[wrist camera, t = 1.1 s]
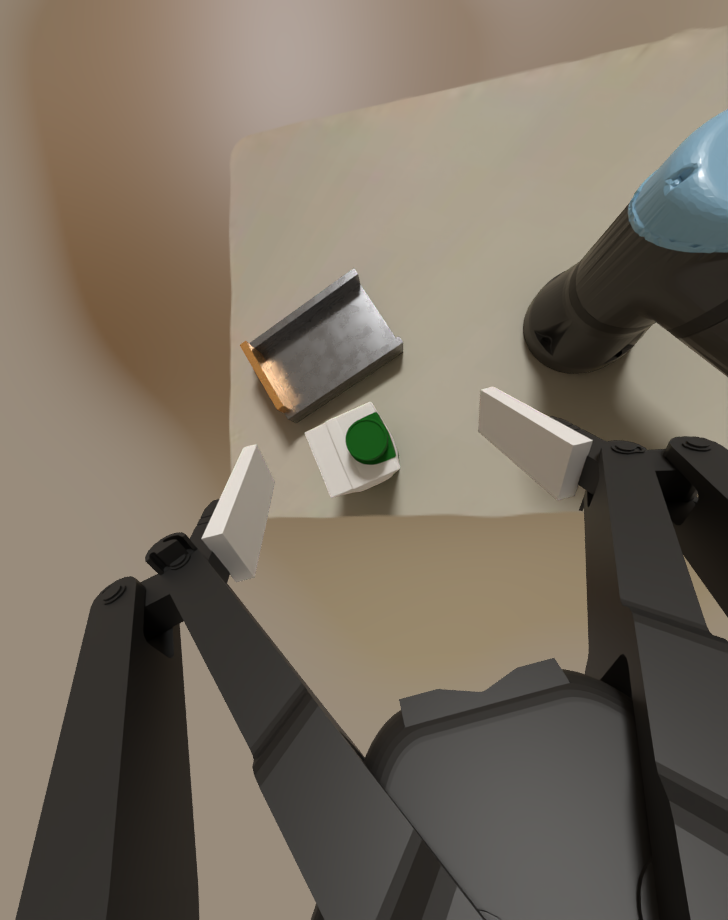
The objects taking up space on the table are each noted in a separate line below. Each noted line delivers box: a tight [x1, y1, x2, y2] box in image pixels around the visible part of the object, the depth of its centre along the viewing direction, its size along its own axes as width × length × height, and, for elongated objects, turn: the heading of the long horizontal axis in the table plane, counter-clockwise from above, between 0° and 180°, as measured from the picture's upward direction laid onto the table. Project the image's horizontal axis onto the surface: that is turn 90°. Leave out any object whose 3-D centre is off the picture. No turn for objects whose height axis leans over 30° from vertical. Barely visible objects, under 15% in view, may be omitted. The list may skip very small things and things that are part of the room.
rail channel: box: [240, 268, 403, 423], centre depth 44 cm, size 22×15×6 cm
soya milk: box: [305, 402, 400, 498], centre depth 35 cm, size 9×9×20 cm
